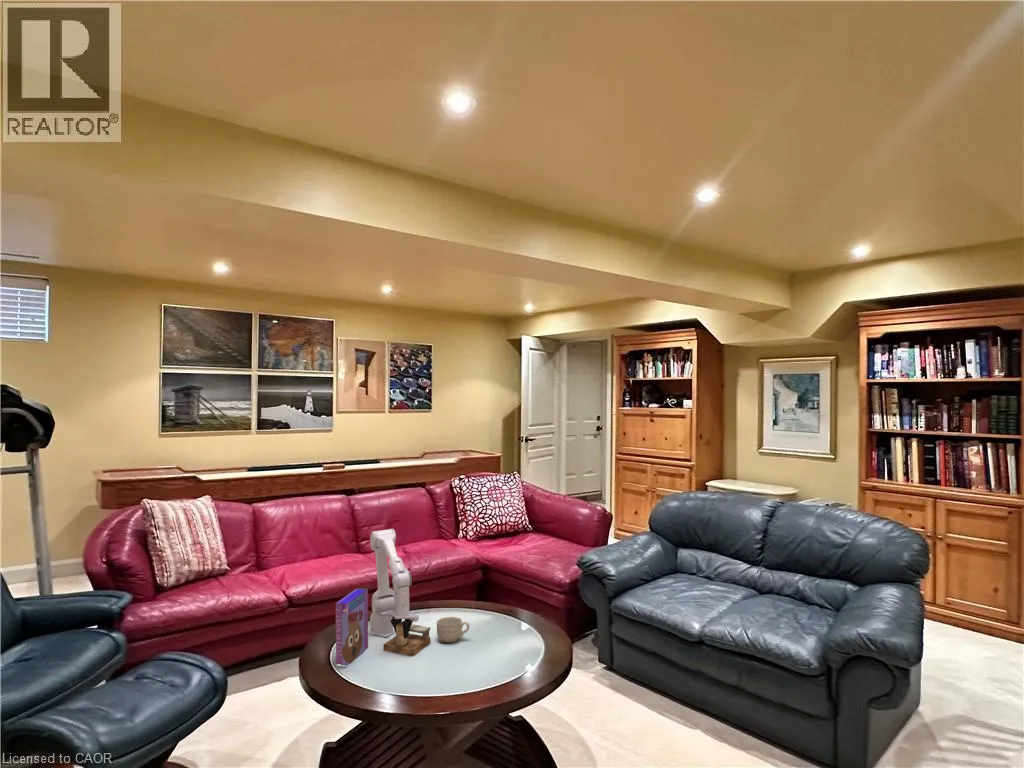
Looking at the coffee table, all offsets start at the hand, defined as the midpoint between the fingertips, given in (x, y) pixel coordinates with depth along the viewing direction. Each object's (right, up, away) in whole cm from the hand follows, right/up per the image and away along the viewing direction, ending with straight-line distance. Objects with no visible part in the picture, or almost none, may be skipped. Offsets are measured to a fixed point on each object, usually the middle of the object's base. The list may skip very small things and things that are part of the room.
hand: (402, 636), depth 231 cm
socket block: (+1, -6, +3) cm, 6 cm away
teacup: (+19, -6, +9) cm, 22 cm away
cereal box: (-19, -6, -5) cm, 20 cm away
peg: (0, -3, 0) cm, 3 cm away
